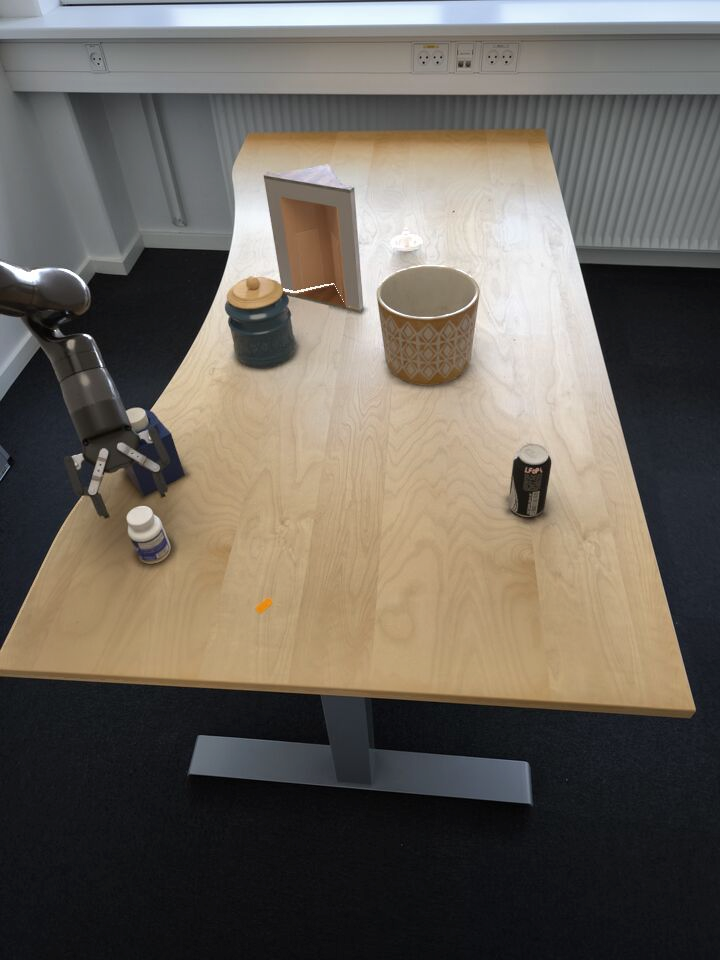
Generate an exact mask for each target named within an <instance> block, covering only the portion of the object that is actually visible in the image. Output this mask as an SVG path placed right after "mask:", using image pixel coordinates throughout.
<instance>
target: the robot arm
mask: <svg viewBox="0 0 720 960" xmlns="http://www.w3.org/2000/svg"><path fill="white" fill-rule="evenodd" d="M91 304H92V293H91V291H90V288H89V286H88V284H87V282H86V281H85V280H84V279H83V278H82V277H81V276H79V274H77V273H76V272H74V271H73V270H70V269H69V268H65V267H61V266H52V265H51V266H50V265H27V266H25V265H20V264H17V263H14V262H11V261H7V260H4V259H1V258H0V315H1V316H6V317H12V318H18V319H20V321H21V322H22V324H23V325H24V326H25V327H26V329H27V330H28V331H29V333H30V334H31V335H32V336H33V338H34V339H35V340H36V342H37V344H38V345H39V347H40V348H41V349H42V351H43V352H44V353H45V355H46V356H47V358H48V359H49V361H50V364H51V367H52V368H53V372H54V374H55V376H56V378H57V381H58V383H59V386H60V390H61V393H62V398H63V401H64V403H65V406H66V408H67V412H68V414H69V416H70V418H71V421H72V424H73V426H74V428H75V431H76V433H77V436H78V439H79V441H80V443H81V446H82V453H78V454H74V455H66V456H64V457H63V463H64V466H65V469H66V472H67V475H68V478H69V480H70V484H71V487H72V490H73V493H74V495H76V496H78V497H89V498H90V500H91V502H92V504H93V506H94V510H95V512H96V514H97V515H98V516H99V517H100V518H101V517H103V518H104V520H108V519H109V518H111V516H110V514H109V511H108V508H107V506H106V504H105V501H104V498H103V496H102V494H101V493H100V492H99V491H100V487H101V484H102V482H103V479H104V476H105V473H106V474H114V473H116V472H118V471H120V470H121V469H124V468H127V467H130V466H131V465H132V464H133V463H134V462H136V463H138V464H140V465H141V466H143V467H145V468H147V469H148V470H150V471H152V473H153V474H152V476H153V479H154V481H155V484H156V486H157V489H158V490H157V491H158V494H159V496H160V499H163V498H166V497H167V494H166V493H168V491H169V489H168V488H169V487H168V485H166V482H165V480H164V477H163V475H162V469H163V468H164V467H165V466H167V465H168V464H169V463H170V458H169V456H168V453H167V451H166V449H165V447H164V445H163V443H162V441H161V439H160V436H159V434H158V432H157V430H156V428H155V427H150V428H149V429H148V430H146V431H144V432H141V433H139V434H137V433H136V432H135V431H134V430H133V428H132V426H131V423H130V421H129V418H128V416H127V413H126V411H127V410H126V409H125V406H124V404H123V400H122V398H121V395H120V392H119V391H118V389H117V386H116V384H115V381H114V380H113V378H112V377H111V374H110V373H109V371H108V370H109V369H107V366H106V362H105V361H104V358H103V356H102V354H101V351H100V348H99V346H98V343H97V342H96V340H95V338H94V337H93V336H92V335H90V334H87V333H74V334H69V335H64V333H63V332H62V330H61V329H60V327H61V326H64V325H65V324H67V323H70V322H71V321H74V320H75V319H78V318H80V317H81V316H83V315H85V313H87V312H88V310H89V308H90V307H91ZM140 440H145V441H146V442H147V443H148V444H152V443H153V445H154V447H155V449H156V451H157V453H158V456H159V458H160V460H159V461H158V462H156V463H155V462H153V461H151V460H150V459H148V458H147V457H145V456H144V455H142V454H140V453H139V452H138V449H139V445H140ZM83 461H86V462H87V463H89V465H92V466H93V467H94V469H93V473H92V476H91V480H90V483H89V486H83V483H82V480H81V476H80V473H79V471H80V470H81V468H82V462H83Z"/></svg>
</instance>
